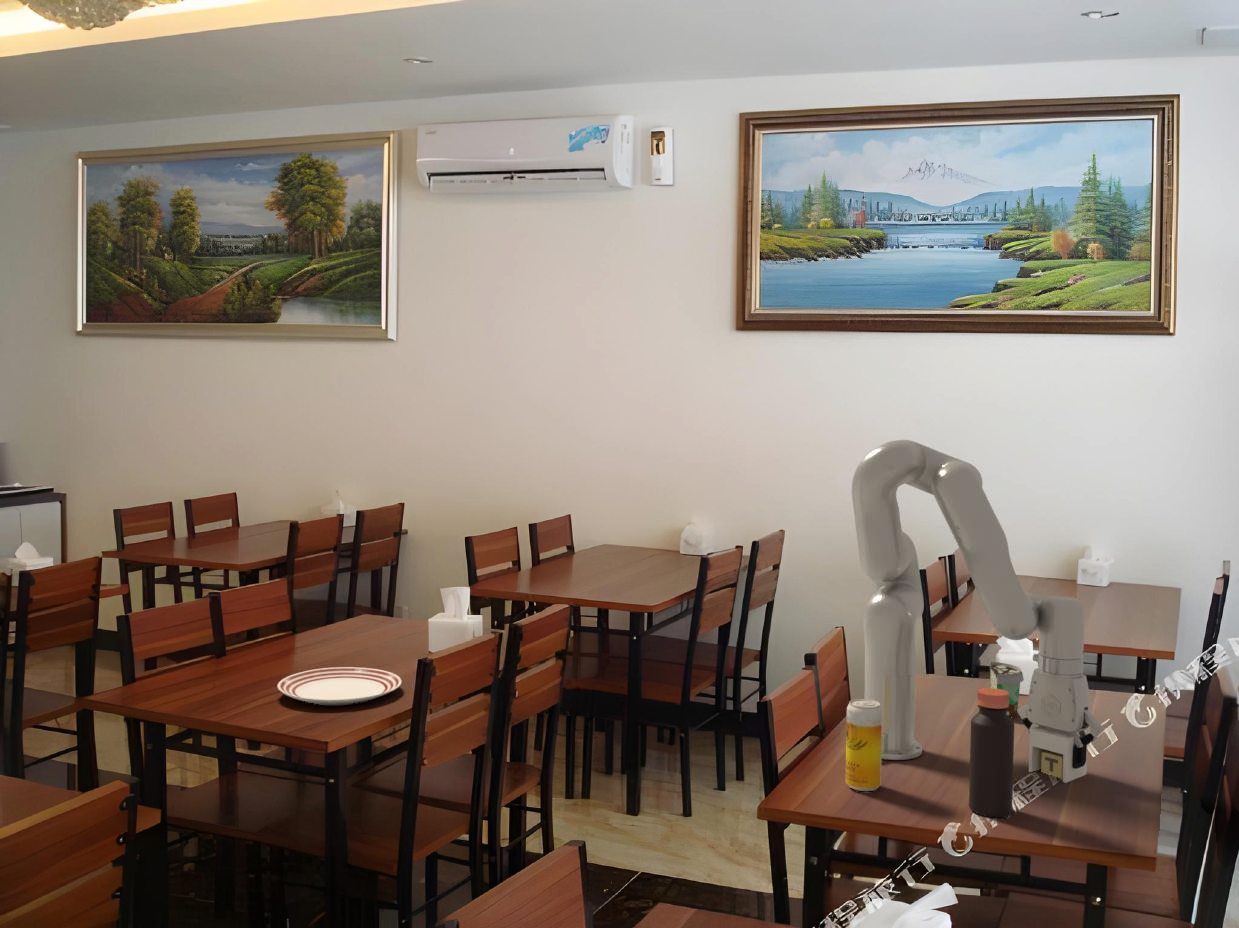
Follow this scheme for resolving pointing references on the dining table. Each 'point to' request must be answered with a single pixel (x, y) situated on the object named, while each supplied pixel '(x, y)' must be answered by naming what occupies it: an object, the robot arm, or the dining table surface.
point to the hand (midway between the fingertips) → (1057, 760)
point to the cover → (1054, 750)
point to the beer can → (863, 744)
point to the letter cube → (1052, 763)
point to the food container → (1007, 683)
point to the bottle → (991, 755)
